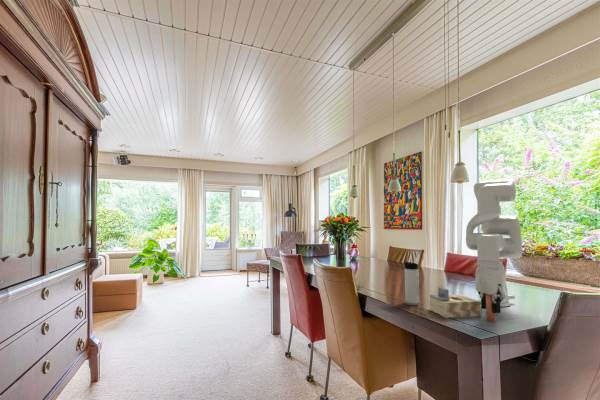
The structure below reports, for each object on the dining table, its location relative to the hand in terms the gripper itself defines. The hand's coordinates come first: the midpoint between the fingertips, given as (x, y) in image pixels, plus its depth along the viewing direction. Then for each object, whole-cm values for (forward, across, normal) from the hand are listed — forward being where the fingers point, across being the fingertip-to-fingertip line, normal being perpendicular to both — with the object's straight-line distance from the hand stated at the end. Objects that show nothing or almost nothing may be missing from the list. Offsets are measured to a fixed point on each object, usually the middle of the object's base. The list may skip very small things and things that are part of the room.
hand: (490, 310), depth 118 cm
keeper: (-2, -11, -15) cm, 19 cm away
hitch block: (+4, -11, -8) cm, 14 cm away
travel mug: (+4, -27, -19) cm, 33 cm away
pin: (+4, 0, 0) cm, 4 cm away
